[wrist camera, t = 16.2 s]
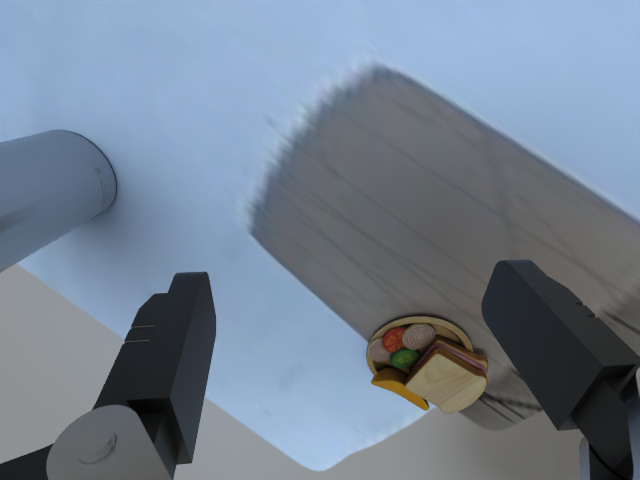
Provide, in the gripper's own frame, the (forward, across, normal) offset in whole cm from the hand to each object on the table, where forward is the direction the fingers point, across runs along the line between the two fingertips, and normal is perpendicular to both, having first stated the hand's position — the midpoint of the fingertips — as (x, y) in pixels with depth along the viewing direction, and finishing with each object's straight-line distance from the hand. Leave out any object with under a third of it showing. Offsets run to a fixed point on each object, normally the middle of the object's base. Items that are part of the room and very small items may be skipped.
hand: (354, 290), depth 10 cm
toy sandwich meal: (+20, -15, +28) cm, 38 cm away
